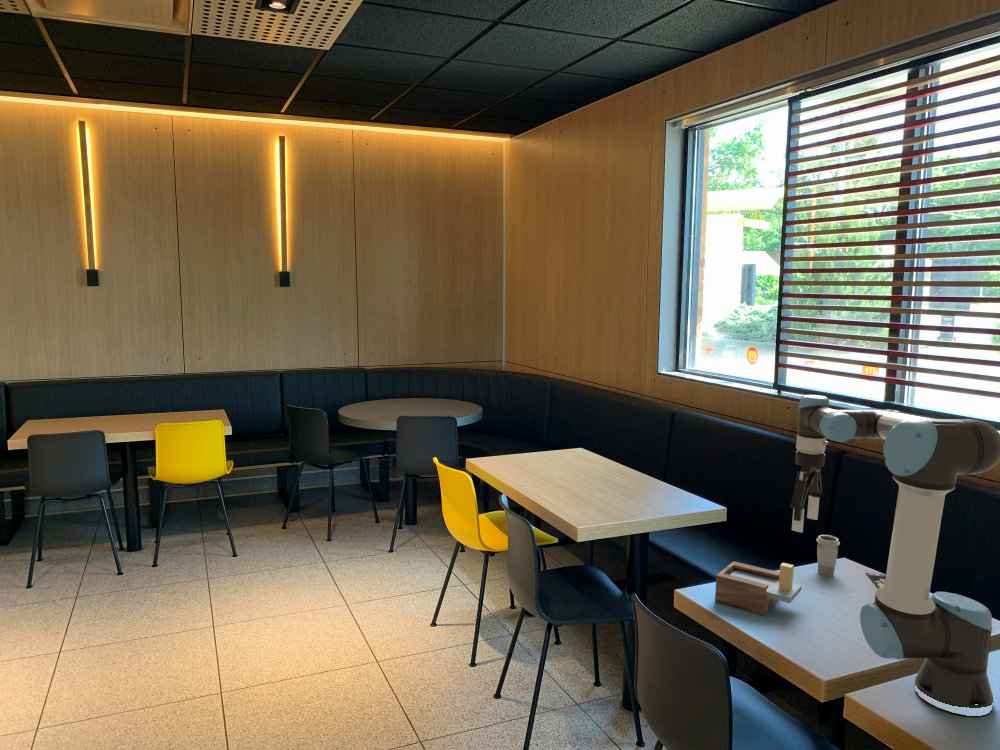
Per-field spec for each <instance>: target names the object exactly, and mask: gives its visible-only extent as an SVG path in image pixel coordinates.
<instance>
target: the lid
mask: <svg viewBox="0 0 1000 750" xmlns="http://www.w3.org/2000/svg"><path fill="white" fill-rule="evenodd" d="M794 566H795V565H794V564H790V563H786V562H782V563H781V564H780V565H779V572H780V577H779V580H778V579H774V578H770V577H766V576H762V575H758V574H754V573H750V572H746V571H742V570H737V569H736V570H734V571H733V572H732V573H731V574H730V575H732V576H736V577H740V578H744V579H748V580H752V581H756V582H760V583H764V584H768V588H767V589H766V597H768V598H772V599H775V600H778V601H779V602H784V603H787V604H791V603H792V601H794V599H795V598H796V597H797V596H798V595H799V593H801V591H802V584H798V583H793V582H794Z"/></svg>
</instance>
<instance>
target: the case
mask: <svg viewBox="0 0 1000 750" xmlns="http://www.w3.org/2000/svg"><path fill="white" fill-rule="evenodd" d="M736 569H737V570H742V571H746V572H750V573H754V574H758V575H762V576H766V577H770V578H774V579H778V580H779V577H780V571H776V570H771V569H768V568H767V569H766V568H762V567H758V566H755V565H752V564H747V563H744V562H743V563H742V562H739V561H731V563H729V564H728V565H727V566H726V567H725V568H723V569H722V570H721V571H720V572H718V573H717V574H716V576H715V592H714V593H715V596H714V603H716V604H720V605H723V606H726V607H731V608H734V609H737V610H740V611H744V612H748V613H751V614H755V615H758V614H759V616H762V617H764V616H765V615H766V614H767V613H768V612H769V611H770V610H771V609H772V607H773V606H774V605H776V603H777V602H778V601H779V600H775V599H772V598H768V597H766V589H767V588H768V584H764V583H760V582H756V581H752V580H748V579H744V578H740V577H736V576H732V575H730V574H731V573H732V572H733V571H734V570H736Z"/></svg>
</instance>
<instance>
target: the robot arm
mask: <svg viewBox="0 0 1000 750" xmlns="http://www.w3.org/2000/svg"><path fill="white" fill-rule="evenodd" d="M830 407H831V405H830V399H829V398H828V397H827V396H825V395H820V394H819V395H818V394H805V395H802V396H801V397H800V400H799V406H798V413H797V414H798V416H797V435H796V442H795V443H796V444H795V448H796V451H795V457H794V459H795V460H794V462H795V464H796V465H797V466H800V467H801V469H800V471H796V472H797V473H796V478H795V479H796V480H795V485H794V488H793V489H794V490H793V492H792V493H793V494H792V498H791V503H790V504H789V508H792V522H791V523H792V524H791V531H793V532H797V533H801V534H803V533H804V520H805V508H804V507H805V503H806V499H807V496H808V499H807V500H808V501H807V502H808V503H807V512H806V513H807V514H806V518H807V519H809V520H815V521H817V520H818V517H819V508H820V507H819V506H820V498H823V497H824V494H823V493H822V492H823V483H822V482H823V481H822V473H821V472H822V469H821V468H822V467H824V466H825V465H826V464H825V461H826V454H825V452H826V448H827V446H828V445H829V441H827V439H828V440H831V441H833V442H837V443H838V442H839V443H845V442H847V441H849V440H851V439H876V440H878V439H879V440H881V441H884V444H883V449H882V450H883V457H884V458H885V460H884V463H885V466H886V467H887V469H888V470H889V472H890V473H892V479H893V480H894V481H895V482H896V484H897V485H898V492H897V498H896V507H895V513H894V520H893V526H892V534H891V538H890V539H891V540H890V547H889V553H888V560H887V565H886V566H887V567H886V573H885V574H886V580H885V586H882V587H880V588H877V589H876V591H875V594H874V601H873V603H872V602H868V603H866V604H864V606H862V607H861V609H860V615H859V616H860V617H859V618H860V620H859V622H860V627H861V630H862V635H863V636H864V640H865V641H866V643H867V645H868V647H869V648H870V649H871V651H873V652H874V654H876V655H877V656H878V657H880V658H883V659H889V660H893V659H895V660H897V661H898V660H899V661H901V660H903V659H905V660H906V659H910V660H911V659H924V660H923V663H922V664H921V667H920V669H919V670H918V672H917V675H916V676H915V679H914V686H915V685H916V686H917V688H918V689H919V690H920V691H921V692H923V693H924V694H926V695H927V696H929V697H931V698H933V699H935V700H937V701H939V702H942V703H945V704H949V705H952V706H958V707H966V708H967V707H969V708H981V707H987V706H990V705H992V703H993V704H994V701H993V700H994V695H993V691H992V688H991V684H990V680H989V676H988V672H987V671H988V665H989V653H990V647H991V645H990V644H991V636H992V631H993V627H992V626H993V624H992V623H993V622H992V621H993V615H992V613H991V611H990V610H989V608H988V607H986V606H985V605H984V604H982V603H981V602H978V601H977V600H975V599H972V598H970V597H967V596H964V595H961V594H958V593H952V592H947V591H935V592H934V593H932V594H931V597H930V592H931V587H932V586H931V585H932V578H933V573H934V567H935V561H936V554H937V547H938V542H939V535H940V531H941V522H942V518H943V511H944V506H945V498H946V494H948V493H950V492H952V491H954V490H955V489H956V484H957V478H958V476H969V475H978V474H979V475H980V474H982V473H983V474H984V473H985V472H987V471H990V470H991V469H993V468H994V467H995V466H997V464H999V463H1000V432H999V431H998V430H997V428H995V427H994V426H993V425H991V424H989V423H987V422H986V421H982V420H979V419H971V418H970V419H969V418H960V419H959V418H957V419H955V418H954V419H953V418H950V419H949V418H948V419H947V418H945V419H943V418H929V417H925V416H923V417H922V416H918V415H911V414H907V413H906V414H905V413H902V412H901V411H900V410H896V409H895V410H894V409H888V408H887V409H886V408H885V409H884V408H883V409H834V408H830ZM808 493H809V495H808ZM975 704H978V705H975Z"/></svg>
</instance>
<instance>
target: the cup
mask: <svg viewBox="0 0 1000 750" xmlns="http://www.w3.org/2000/svg"><path fill="white" fill-rule="evenodd" d="M815 541H816V542H817V546H816V547H817V548H816V549H817V550H816V554H817V555H816V556H817V560H816V561H817V563H816V564H817V574H818V575H820V576H822V577H826V578H832V577H834V575H835V574H834V573H835V568H836V565H837V558H838V553H839V552H838V551H839V546H840V545H841V542H840V541H839V538H838V537H836V536H834V535H829V534H820V535H818V537H817V538H816V540H815Z"/></svg>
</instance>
